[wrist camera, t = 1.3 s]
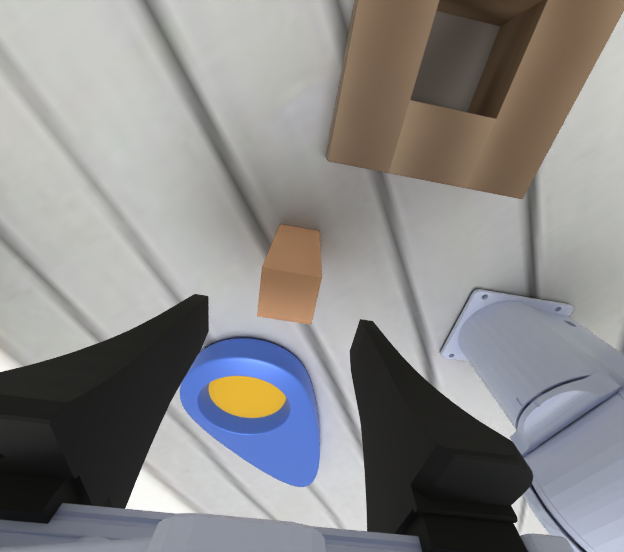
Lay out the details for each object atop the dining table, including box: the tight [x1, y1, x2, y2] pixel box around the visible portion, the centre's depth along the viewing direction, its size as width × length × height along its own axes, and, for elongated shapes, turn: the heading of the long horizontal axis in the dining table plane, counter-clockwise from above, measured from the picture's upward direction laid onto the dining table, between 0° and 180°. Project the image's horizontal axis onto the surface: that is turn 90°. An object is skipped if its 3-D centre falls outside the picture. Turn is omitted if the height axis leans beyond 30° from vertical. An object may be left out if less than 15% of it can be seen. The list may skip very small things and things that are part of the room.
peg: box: [257, 224, 322, 324], centre depth 18 cm, size 3×3×8 cm
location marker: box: [180, 338, 320, 487], centre depth 31 cm, size 13×3×25 cm
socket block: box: [326, 0, 624, 199], centre depth 14 cm, size 12×12×4 cm
